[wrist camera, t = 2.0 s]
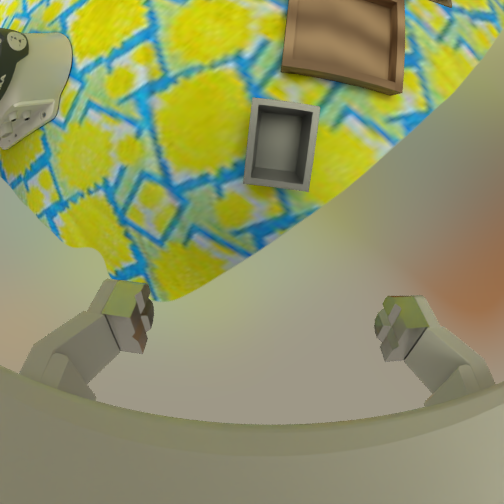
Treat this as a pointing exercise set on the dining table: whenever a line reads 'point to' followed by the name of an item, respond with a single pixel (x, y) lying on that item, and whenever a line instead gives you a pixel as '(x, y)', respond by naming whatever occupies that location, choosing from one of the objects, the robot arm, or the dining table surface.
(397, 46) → the tray
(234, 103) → the dining table surface
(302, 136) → the small crate
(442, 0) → the bread roll
